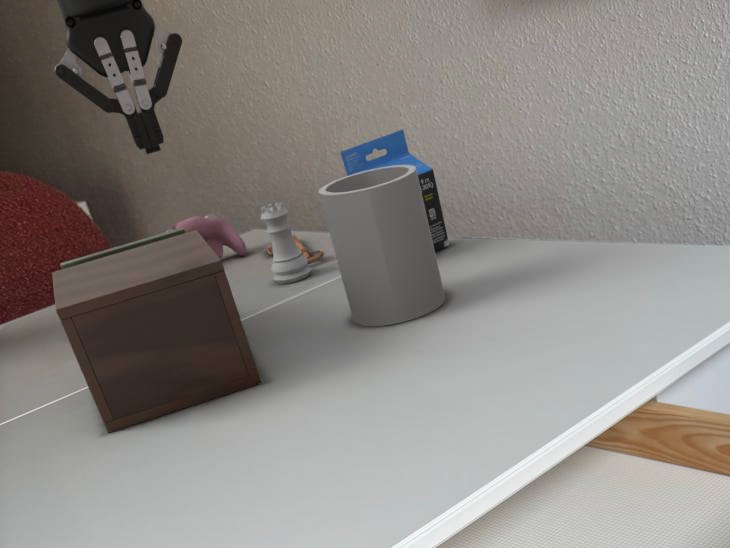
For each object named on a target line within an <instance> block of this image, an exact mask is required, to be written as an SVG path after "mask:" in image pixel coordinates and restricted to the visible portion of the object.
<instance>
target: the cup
mask: <svg viewBox="0 0 730 548" xmlns="http://www.w3.org/2000/svg"><path fill="white" fill-rule="evenodd" d="M318 196H319V199H320V203H321V207H322V210H323V214H324V217H325V221H326V225H327V229H328V232H329V236H330V239H331V243H332V246H333V247H332V248H333V250H334V254H335V258H336V261H337V265H338V269H339V273H340V277H341V280H342V284H343V287H344V290H345V295H346V298H347V302H348V305H349V309H350V313H351V317H352V320H353V322H354V323H355V325H358V326H362V327H384V326H390V325H391V326H392V325H395V324H401V323H405V322H408V321H412V320H414V319H418V318H420V317H423V316H425V315H428V314H430V313H432V312H433V311H435V310H437V309H438V308H440V307H441V306H442V305H443V304H444V302H445V301H446V294H445V291H444V286H443V282H442V277H441V272H440V269H439V264H438V259H437V255H436V251H435V250H434V246H433V241H432V237H431V232H430V228H429V223H428V219H427V214H426V210H425V205H424V201H423V197H422V192H421V188H420V183H419V179H418V174H417V170H416V167H415V166H413V165H395V166H387V167H381V168H376V169H371V170H367V171H363V172H359V173H355V174H352V175H349V176H347V175H346V176H343V177H340V178H338V179H335V180H332V181H331V182H328V183H326V184H325V185H323V186H322V187H320V188H319V189H318Z"/></svg>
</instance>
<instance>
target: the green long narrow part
mask: <svg viewBox="0 0 730 548" xmlns="http://www.w3.org/2000/svg"><path fill="white" fill-rule="evenodd" d="M165 232H166V231H165ZM165 232H163V233H158V234H156V235H152V236H148V237H146V238H141V239H139V240H135V241H132V242H129V243H126V244H122V245H118V246H114V247H111V248H108V249H103V250H101V251H98V252H97V251H96V252H93V253H90V254H87V255H84V256H81V257H77V258H74V259H71V260H67V261H63V262H60V268H61V270H62V269H66V268H69V267H72V266H76V265H79V264H83V263H86V262H89V261H93V260H96V259H100V258H103V257H106V256H110V255H113V254H117V253H120V252H123V251H127V250H130V249H134V248H137V247H140V246H144V245H147V244H150V243H154V242H157V241H161V240H164V239H167V238H171V237H174V236H178V235H181V234H184V233H186V232H185V230H184V228H179V229H176V230H172V231H169V232H166V233H165Z"/></svg>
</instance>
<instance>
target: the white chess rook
mask: <svg viewBox="0 0 730 548" xmlns="http://www.w3.org/2000/svg"><path fill="white" fill-rule="evenodd" d="M274 205H275V206H273V204H272V203H269V204H267V206H266V205H263V206H262V207H261V208H260V211H261V215H260V218H259V219H260V220H261V221H262V222H264V223H265V225H266V228H267V230H266V233H267V234H268V235H269V238H270V242H271V246H272V249H273V255H272V256H273V257H272V264H271V267H270V268H271V269H270V270H271V272H272V273H274V277H272V279H273V280H274V281H275V282H276V283H278V285H279V284H281V285H285V284H290V283H291V284H292V283H295V282H299V281H302V280H303V279H306V278H307V277H309V276H310V274H311V272H312V267H310V266H308V265H309V264H308V259H307V258H306V257H305V256H303V255H302V252H301V251H300V250H299V249H298V247H297V245H296V243H295V241H294V238H293V232H292V230H291V227H292V225H291V224H290V223H289V220H288V216H289V213H290V210H289V209H288V208H286V207H285V204H284V202H283V201H282V202H280V201H278V202H275V203H274ZM307 264H308V265H307Z"/></svg>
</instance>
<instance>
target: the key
mask: <svg viewBox="0 0 730 548" xmlns="http://www.w3.org/2000/svg"><path fill="white" fill-rule="evenodd" d="M292 236H293V238H294V241H295V243H296V245H297V247H298V249H299V250H300V251H301V252H302V255H303V256H305V257H306V258H307V259H308V264H307V266H308V265H311V264H313V263H315V262H318V261H319V260H321V259H322V258H323V257H324V256H325V252H324V251H323V250H313V251H310V252H309V250H308V249H307V248H306V247H305V246H304V245H303V243H302V242H301V240H300V239H299V238H298V237H297V235H295V234H292ZM265 250H266V253H267V254H268V256H273V249H272V245H271V246H269V247H267V248H265Z"/></svg>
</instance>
